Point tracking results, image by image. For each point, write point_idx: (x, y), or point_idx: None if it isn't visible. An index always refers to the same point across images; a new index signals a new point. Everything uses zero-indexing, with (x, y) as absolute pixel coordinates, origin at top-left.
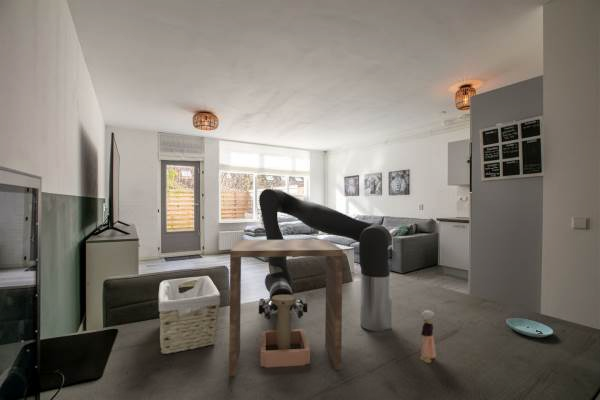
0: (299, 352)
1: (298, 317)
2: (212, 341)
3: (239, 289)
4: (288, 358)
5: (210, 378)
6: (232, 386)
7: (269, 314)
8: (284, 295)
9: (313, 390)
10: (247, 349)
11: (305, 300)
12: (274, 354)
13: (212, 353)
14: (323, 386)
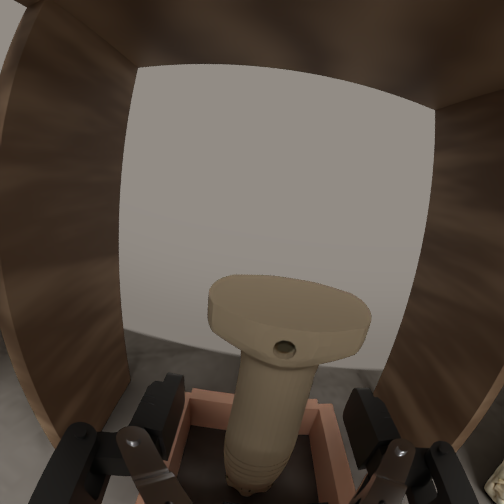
0: (211, 392)
1: (183, 404)
2: (490, 479)
3: (492, 254)
4: None
5: None
6: (361, 381)
7: (353, 395)
8: (289, 318)
9: (205, 355)
10: None
11: (43, 477)
12: None
13: (461, 462)
14: (182, 357)
